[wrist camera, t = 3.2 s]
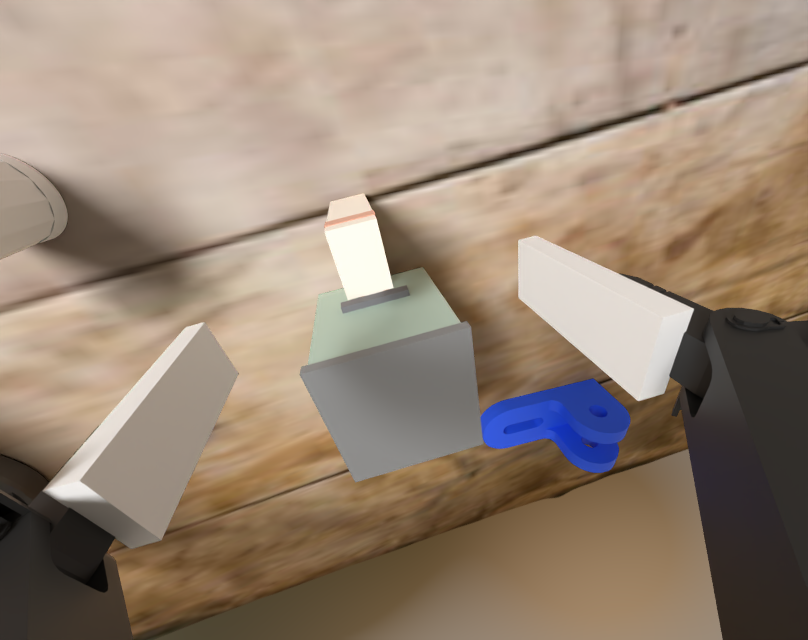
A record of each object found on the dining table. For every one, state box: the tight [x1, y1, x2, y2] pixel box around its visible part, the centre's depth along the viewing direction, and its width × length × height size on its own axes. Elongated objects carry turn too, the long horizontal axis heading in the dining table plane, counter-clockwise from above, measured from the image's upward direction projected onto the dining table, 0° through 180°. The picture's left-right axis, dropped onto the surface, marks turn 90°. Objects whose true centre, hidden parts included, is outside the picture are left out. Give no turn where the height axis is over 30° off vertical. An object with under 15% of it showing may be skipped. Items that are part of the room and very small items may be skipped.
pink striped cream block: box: [324, 193, 394, 300], centre depth 25 cm, size 14×3×11 cm, turn 12°
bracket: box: [480, 379, 630, 473], centre depth 42 cm, size 18×8×9 cm, turn 98°
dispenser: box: [300, 267, 483, 482], centre depth 28 cm, size 13×12×13 cm
